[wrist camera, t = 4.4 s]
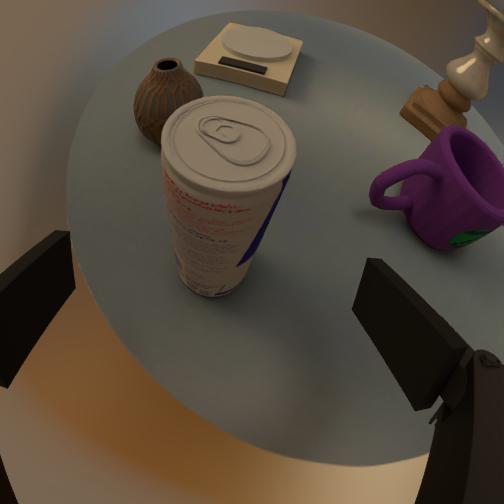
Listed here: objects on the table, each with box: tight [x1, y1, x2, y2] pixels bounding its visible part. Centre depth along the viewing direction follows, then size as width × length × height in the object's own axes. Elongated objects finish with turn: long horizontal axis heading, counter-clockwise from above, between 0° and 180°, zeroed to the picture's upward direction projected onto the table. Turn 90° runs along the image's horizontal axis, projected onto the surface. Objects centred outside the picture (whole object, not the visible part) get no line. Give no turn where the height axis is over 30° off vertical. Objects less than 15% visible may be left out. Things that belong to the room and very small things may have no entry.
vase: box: [134, 58, 203, 144], centre depth 26 cm, size 7×7×9 cm
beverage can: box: [161, 96, 297, 297], centre depth 18 cm, size 6×6×15 cm
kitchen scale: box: [194, 23, 303, 96], centre depth 36 cm, size 12×14×3 cm
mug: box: [369, 125, 504, 250], centre depth 27 cm, size 17×11×10 cm, turn 97°
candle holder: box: [400, 0, 504, 141], centre depth 29 cm, size 11×11×24 cm
